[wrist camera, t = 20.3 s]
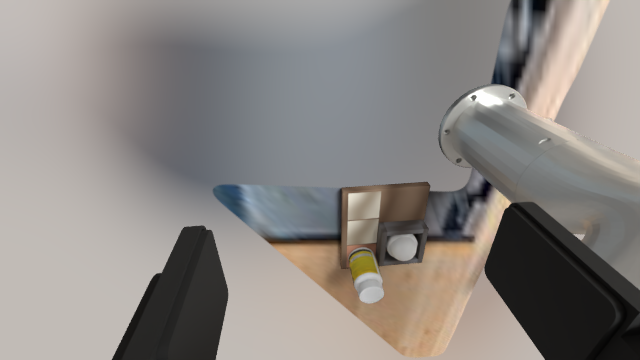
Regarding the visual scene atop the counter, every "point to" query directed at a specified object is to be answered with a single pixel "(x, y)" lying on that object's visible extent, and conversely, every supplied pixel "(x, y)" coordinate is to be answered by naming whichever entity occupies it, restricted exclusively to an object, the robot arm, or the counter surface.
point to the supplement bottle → (366, 275)
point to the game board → (383, 219)
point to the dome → (402, 246)
